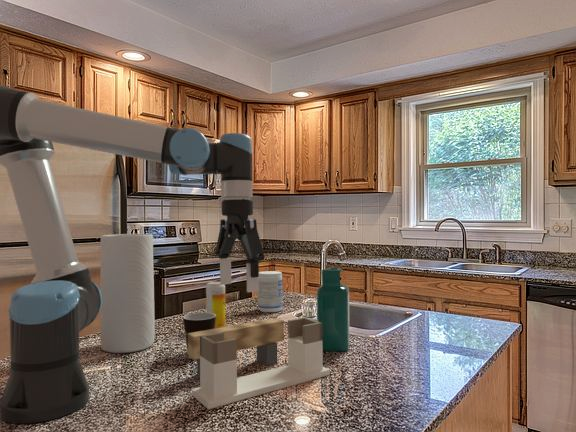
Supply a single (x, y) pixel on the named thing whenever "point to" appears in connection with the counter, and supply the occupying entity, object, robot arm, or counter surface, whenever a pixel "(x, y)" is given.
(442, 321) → the counter surface
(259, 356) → the blocks
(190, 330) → the coffee mug
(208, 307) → the white yellow bottle
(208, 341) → the bracket stand
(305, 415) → the counter surface
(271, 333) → the oak rail
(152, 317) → the paper towel roll
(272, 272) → the supplement tub
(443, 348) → the counter surface
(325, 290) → the green square bottle
